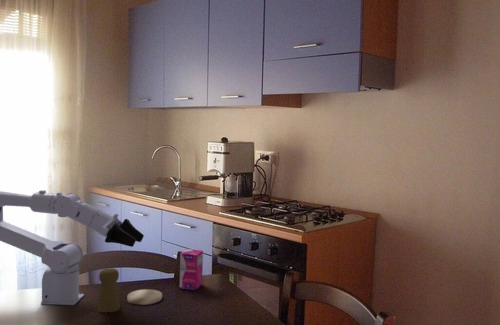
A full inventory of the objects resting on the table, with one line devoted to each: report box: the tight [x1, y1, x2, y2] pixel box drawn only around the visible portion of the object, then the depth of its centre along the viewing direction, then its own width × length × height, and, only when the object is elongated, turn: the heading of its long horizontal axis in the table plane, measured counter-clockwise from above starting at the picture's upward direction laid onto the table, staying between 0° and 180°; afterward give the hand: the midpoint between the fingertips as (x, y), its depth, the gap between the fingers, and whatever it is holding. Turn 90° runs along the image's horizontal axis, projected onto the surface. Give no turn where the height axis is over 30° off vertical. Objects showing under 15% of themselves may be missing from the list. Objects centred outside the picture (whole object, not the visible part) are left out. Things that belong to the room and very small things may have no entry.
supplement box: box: [179, 248, 204, 291], centre depth 149 cm, size 6×6×12 cm
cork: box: [96, 267, 121, 314], centre depth 129 cm, size 6×6×11 cm
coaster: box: [126, 288, 163, 306], centre depth 138 cm, size 10×10×1 cm
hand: (138, 241), depth 132 cm, fingers open, 7 cm apart
